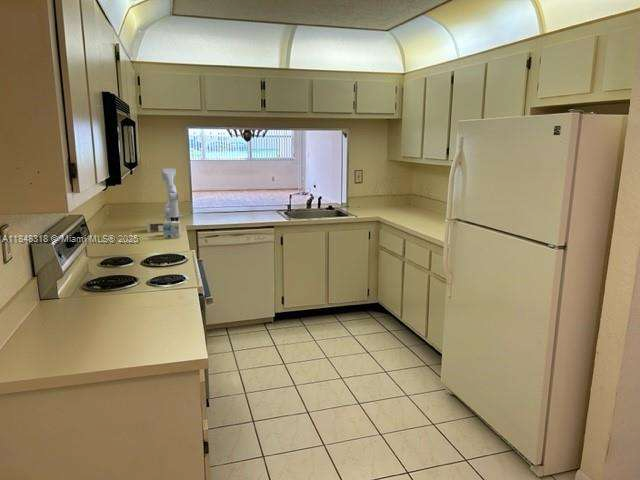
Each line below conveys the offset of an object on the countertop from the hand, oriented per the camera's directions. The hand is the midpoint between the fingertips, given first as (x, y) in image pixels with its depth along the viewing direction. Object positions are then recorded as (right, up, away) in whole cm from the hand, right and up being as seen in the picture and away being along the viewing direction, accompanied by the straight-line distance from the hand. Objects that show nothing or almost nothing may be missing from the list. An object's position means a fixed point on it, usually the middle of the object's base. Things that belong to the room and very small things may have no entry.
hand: (175, 228), depth 343 cm
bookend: (-17, -2, -5) cm, 18 cm away
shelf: (-10, -3, -2) cm, 11 cm away
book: (-9, -2, -2) cm, 9 cm away
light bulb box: (+3, -7, -17) cm, 18 cm away
